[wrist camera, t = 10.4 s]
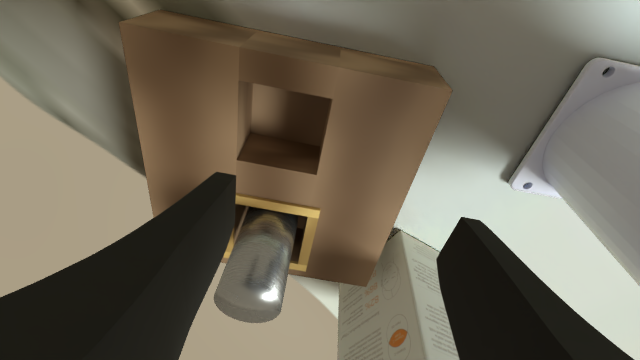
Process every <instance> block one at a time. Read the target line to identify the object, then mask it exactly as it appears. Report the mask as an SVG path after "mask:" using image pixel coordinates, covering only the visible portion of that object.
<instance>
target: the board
mask: <svg viewBox="0 0 640 360" xmlns="http://www.w3.org/2000/svg"><path fill="white" fill-rule="evenodd" d="M119 27H120V32H121V38H122V44H123V49H124V55H125V60H126V66H127V72H128V77H129V83H130V88H131V94H132V99H133V105H134V111H135V116H136V122H137V127H138V133H139V139H140V144H141V150H142V155H143V161H144V167H145V172H146V178H147V183H148V188H149V194H150V200H151V206H152V211H153V217H156V216H157V215H159V214H160V213H162V212H163V211H165V210H166V209H167V208H169V207H170V206H171V205H173V204H174V203H176V202H177V201H178V200H180V199H181V198H182V197H184V196H185V195H186V194H188V193H189V192H190V191H192V190H193V189H194V188H196V187H197V186H198V185H199V184H201V183H202V182H203V181H205V180H206V179H207V178H208V177H210V176H211V175H212V174H214V173H215V172H221V173H227V174H232V175H236V203H235V224H234V228H233V231H232V234H231V237H230V240H229V243H228V246H227V249H226V252H225V254H224V256H223V258H222V260H221V262H222V263H227V261H228V259H229V256H230V254H231V251H232V249H233V246H234V244H235V241H236V239H237V236H238V233H239V231H240V228H241V226H242V223H243V221H244V218H245V216H246V213H247V211H248V208H249V206H251V207H256V208H262V209H268V210H273V211H279V212H284V213H290V214H295V215H299V218H298V223H297V229H296V234H295V239H294V244H293V250H292V255H291V260H290V265H289V271H288V274H292V275H298V276H304V277H310V278H316V279H321V280H327V281H333V282H339V283H345V284H351V285H357V286H362V287H367V284H368V282H369V280H370V278H371V275H372V273H373V271H374V269H375V266H376V264H377V262H378V259H379V257H380V255H381V253H382V250H383V248H384V246H385V243H386V241H387V239H388V237H389V234H390V232H391V230H392V227H393V225H394V223H395V221H396V218H397V216H398V214H399V212H400V209H401V207H402V205H403V202H404V200H405V198H406V196H407V193H408V191H409V189H410V186H411V184H412V182H413V180H414V177H415V175H416V173H417V170H418V168H419V166H420V164H421V161H422V159H423V157H424V155H425V152H426V150H427V148H428V145H429V143H430V141H431V139H432V136H433V134H434V132H435V129H436V127H437V125H438V123H439V120H440V118H441V116H442V113H443V111H444V109H445V107H446V104H447V102H448V100H449V98H450V95H451V93H452V91H453V90H452V89H451V88H450V87H449V85H448V84H447V83H446V81H445V80H444V79H443V77H442V76H441V75H440V74H439V72H438V71H437V70H436V68H435V67H434V66H429V65H424V64H419V63H414V62H410V61H405V60H400V59H395V58H390V57H386V56H381V55H376V54H371V53H366V52H361V51H357V50H352V49H347V48H342V47H337V46H333V45H328V44H323V43H318V42H313V41H308V40H304V39H299V38H294V37H289V36H284V35H280V34H275V33H270V32H265V31H260V30H255V29H251V28H246V27H241V26H236V25H231V24H227V23H222V22H217V21H212V20H207V19H202V18H198V17H193V16H188V15H183V14H178V13H174V12H169V11H164V10H158V11H154V12H151V13H148V14H144V15H141V16H138V17H135V18H131V19H128V20H125V21H121V22H119Z"/></svg>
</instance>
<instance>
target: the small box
mask: <svg viewBox="0 0 640 360" xmlns="http://www.w3.org/2000/svg"><path fill="white" fill-rule="evenodd" d="M439 253H440V252H438V251H436V250H434V249H433V248H431V247H429V246H427V245H425V244H424V243H422V242H420V241H418V240H417V239H415V238H413V237H411V236H410V235H408V234H406V233H404V232H403V231H399V232H398V233H396V234H395V235H394V236H393V237H392V238H391V239H390V240H389V241H387V242H386V243H385V246H384V248H383V250H382V253H381V255H380V257H379V259H378V262H377V264H376V266H375V269H374V271H373V273H372V275H371V278H370V280H369V282H368V284H367V287H362V286H357V285H351V284H345V283H340V284H339V314H338V359H337V360H459V356H458V353H457V349H456V346H455V342H454V338H453V335H452V331H451V328H450V324H449V320H448V317H447V313H446V309H445V306H444V302H443V298H442V294H441V290H440V285H439V278H438V270H437V261H436V258H437V257H438V255H439Z"/></svg>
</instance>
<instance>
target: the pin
mask: <svg viewBox="0 0 640 360" xmlns="http://www.w3.org/2000/svg"><path fill="white" fill-rule="evenodd" d="M298 218H299V215H295V214H290V213H284V212H279V211H273V210H268V209H262V208H256V207H251V206H249V208H248V211H247V213H246V216H245V218H244V221H243V223H242V226H241V228H240V231H239V233H238V236H237V239H236V241H235V244H234V246H233V249H232V251H231V254H230V256H229V259H228V261H227V264H226V267H225V269H224V272H223V274H222V277H221V279H220V282H219V284H218V287H217V289H216V292H215V295H214V301H215V304H216V306H217V307H218V308H219V309H220V310H221V311H222V312H223V313H224V314H226V315H228V316H230V317H232V318H234V319H236V320H240V321H244V322H249V323H262V322H267V321H270V320H273V319H274V318H276V317H277V316H278V315H279V314H280V312H281V307H282V302H283V297H284V292H285V286H286V281H287V276H288V271H289V265H290V260H291V255H292V250H293V244H294V239H295V234H296V229H297V223H298Z"/></svg>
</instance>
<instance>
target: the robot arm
mask: <svg viewBox="0 0 640 360" xmlns="http://www.w3.org/2000/svg"><path fill="white" fill-rule="evenodd" d="M608 67H610V68H609V71H608V72H607V73H606V74H604V75H602V73H603V71H604V70H605V69H606V68H608ZM527 182H529V183H528V184H527V185H524V184H525V183H527ZM509 185H510V186H511V188H512V189H514V190H518V191H523V192H528V193H534V194H539V195H544V196H549V197H554V198H560V199H564V201H565V202H566V203H567V204H568V205H569V206H570V207H571V209H572V210H573V211H574V212H575V213H576V214H577V215H578V217H579V218H580V219H581V220H582V221H583V222H584V223H585V224H586V226H587V227H588V228H589V229H590V230H591V231H592V232H593V234H594V235H595V236H596V237H597V238H598V239H599V240H600V242H601V243H602V244H603V245H604V246H605V247H606V248H607V250H608V251H609V252H610V253H611V254H612V255H613V256H614V258H615V259H616V260H617V261H618V262H619V263H620V264H621V265H622V267H623V268H624V269H625V270H626V271H627V272H628V273H629V275H630V276H631V277H632V278H633V279H634V280H635V281H636V283H637V284H638V285H639V286H640V66H638V65H633V64H629V63H624V62H619V61H615V60H610V59H605V58H595V59H592V60H591V61H589V62H588V63H587V64H586V65H585V66H584V68H583V69H582V71H581V72H580V74H579V76H578V77H577V79H576V80H575V82H574V83H573V85H572V86H571V88H570V89H569V91H568V92H567V94H566V95H565V97H564V98H563V100H562V101H561V103H560V104H559V106H558V107H557V109H556V110H555V112H554V113H553V115H552V116H551V118H550V119H549V121H548V122H547V124H546V125H545V127H544V128H543V130H542V131H541V133H540V134H539V136H538V138H537V139H536V141H535V142H534V144H533V145H532V147H531V148H530V150H529V151H528V153H527V154H526V156H525V157H524V159H523V160H522V162H521V163H520V165H519V166H518V168H517V169H516V171H515V172H514V174H513V175H512V177H511V178H510V180H509ZM235 203H236V175H232V174H227V173H221V172H215V173H214V174H212V175H211V176H210V177H208V178H207V179H206V180H205V181H203V182H202V183H201V184H199V185H198V186H197V187H196V188H194V189H193V190H192V191H190V192H189V193H188V194H186V195H185V196H184V197H182V198H181V199H180V200H178V201H177V202H176V203H174V204H173V205H171V206H170V207H169V208H167V209H166V210H165V211H163V212H162V213H160V214H159V215H157V216H156V217H154V218H153V219H151V220H150V221H148V222H147V223H145V224H144V225H142V226H141V227H139V228H138V229H136V230H134V231H133V232H131V233H130V234H128V235H126V236H125V237H123V238H121V239H120V240H118V241H116V242H115V243H113V244H111V245H109V246H107V247H106V248H104V249H102V250H100V251H98V252H97V253H95V254H93V255H91V256H89V257H88V258H85V259H83V260H81V261H79V262H77V263H75V264H73V265H71V266H69V267H67V268H65V269H63V270H61V271H59V272H56V273H54V274H52V275H50V276H48V277H46V278H44V279H42V280H40V281H37V282H36V283H33V284H31V285H28V286H26V287H24V288H21V289H19V290H17V291H15V292H12V293H10V294H8V295H5V296H3V297H0V360H178V359H179V356H180V354H181V351H182V348H183V346H184V343H185V340H186V337H187V335H188V332H189V329H190V327H191V325H192V322H193V320H194V318H195V315H196V313H197V311H198V309H199V307H200V305H201V303H202V301H203V298H204V296H205V294H206V292H207V290H208V288H209V286H210V284H211V282H212V279H213V277H214V275H215V273H216V271H217V269H218V266H219V264H220V262H221V260H222V258H223V256H224V254H225V252H226V249H227V246H228V243H229V240H230V237H231V234H232V231H233V228H234V224H235ZM436 261H437V270H438V278H439V285H440V290H441V294H442V298H443V302H444V306H445V309H446V313H447V317H448V320H449V324H450V328H451V331H452V335H453V338H454V342H455V346H456V349H457V353H458V356H459V360H634V359H633V358H631V357H630V356H629V355H627V354H626V353H625V352H623V351H622V350H621V349H620V348H618V347H617V346H616V345H615V344H613V343H612V342H611V341H610V340H608V339H607V338H606V337H605V336H604V335H602V334H601V333H600V332H599V331H598V330H596V329H595V328H594V327H593V326H591V325H590V324H589V323H588V322H587V321H585V320H584V319H583V318H582V317H581V316H580V315H579V314H577V313H576V312H575V311H574V310H573V309H572V308H571V307H570V306H568V305H567V304H566V303H565V302H564V301H563V300H562V299H561V298H560V297H559V296H558V295H556V294H555V293H554V292H553V291H552V290H551V289H550V288H549V287H548V286H547V285H546V284H545V283H544V282H543V281H542V280H541V279H539V278H538V277H537V276H536V275H535V274H534V273H533V272H532V271H531V270H530V269H529V268H528V267H527V266H526V265H525V264H524V263H523V262H522V261H521V260H520V259H519V258H518V257H517V256H516V255H515V254H514V253H513V252H512V251H511V250H510V249H509V248H508V247H507V246H506V245H505V244H504V243H503V242H502V241H501V240H500V239H499V238H498V237H497V236H496V235H495V234H494V233H493V232H492V231H491V230H490V229H489V228H488V227H487V226H486V225H485V224H484V223H482V222H481V221H480V220H475V219H470V218H465V217H461V218H460V220H459V222H458V223H457V225H456V227H455V228H454V230H453V232H452V233H451V235H450V237H449V238H448V240H447V242H446V243H445V245H444V247H443V248H442V250H441V252H440V253H439V255H438V257H437V258H436Z"/></svg>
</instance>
